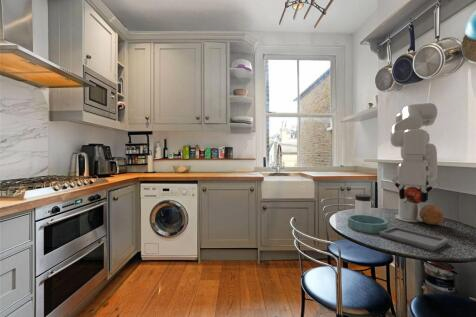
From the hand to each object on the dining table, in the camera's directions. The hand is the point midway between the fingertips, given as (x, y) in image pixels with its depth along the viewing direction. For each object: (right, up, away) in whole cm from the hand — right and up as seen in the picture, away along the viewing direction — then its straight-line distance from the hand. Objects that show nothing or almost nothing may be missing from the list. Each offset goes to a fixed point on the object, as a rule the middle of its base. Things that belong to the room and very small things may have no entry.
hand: (412, 200), depth 104 cm
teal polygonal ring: (-10, -17, +18) cm, 26 cm away
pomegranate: (0, -2, 0) cm, 2 cm away
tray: (0, -17, +1) cm, 17 cm away
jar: (-1, -16, +39) cm, 42 cm away
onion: (+25, -16, +22) cm, 37 cm away
